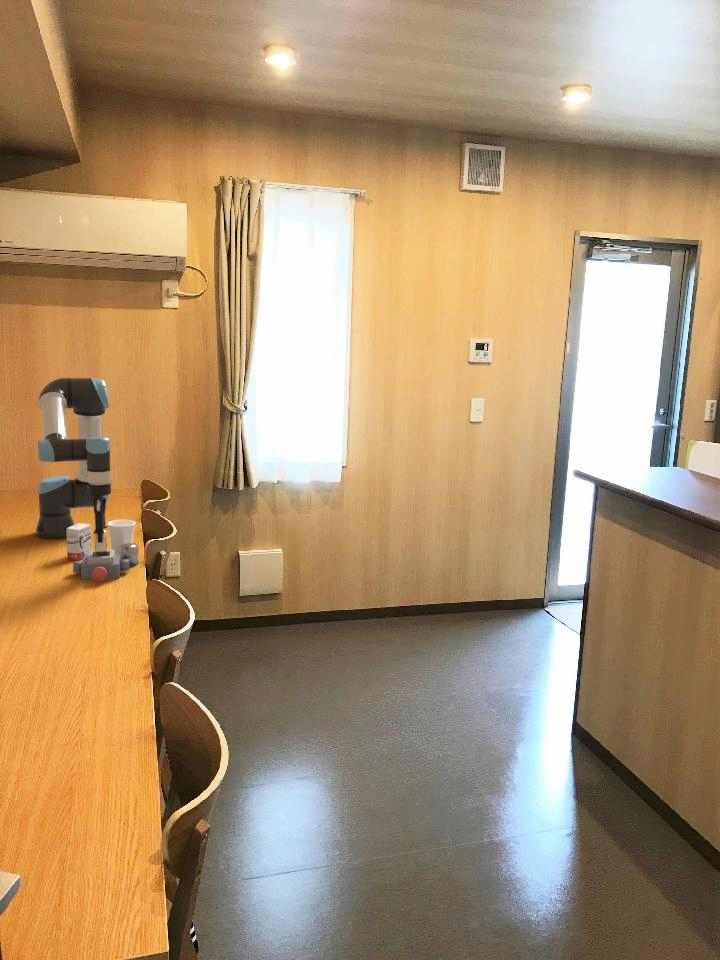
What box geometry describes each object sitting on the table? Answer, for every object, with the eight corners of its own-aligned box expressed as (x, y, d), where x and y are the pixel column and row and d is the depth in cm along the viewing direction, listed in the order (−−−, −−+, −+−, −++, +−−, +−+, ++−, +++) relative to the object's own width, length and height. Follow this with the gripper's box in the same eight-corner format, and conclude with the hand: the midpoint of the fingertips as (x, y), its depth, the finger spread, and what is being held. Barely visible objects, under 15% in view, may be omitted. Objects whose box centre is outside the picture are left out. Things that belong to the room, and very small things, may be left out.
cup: (141, 554, 266) (141, 521, 264) (125, 562, 257) (124, 527, 255) (119, 551, 270) (118, 518, 267) (102, 558, 260) (101, 524, 258)
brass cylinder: (95, 553, 245) (94, 528, 243) (107, 553, 246) (107, 528, 244) (94, 557, 241) (93, 532, 239) (106, 557, 242) (106, 531, 240)
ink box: (79, 561, 257) (77, 529, 254) (66, 559, 257) (65, 528, 255) (92, 554, 265) (91, 523, 262) (80, 552, 266) (79, 522, 263)
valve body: (75, 569, 248) (75, 549, 247) (129, 566, 253) (129, 547, 252) (70, 584, 233) (69, 564, 232) (128, 581, 238) (127, 561, 237)
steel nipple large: (121, 561, 258) (121, 543, 256) (138, 561, 259) (138, 542, 258) (120, 567, 252) (120, 548, 251) (138, 566, 254) (138, 547, 252)
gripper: (89, 477, 245) (91, 542, 250) (84, 488, 229) (87, 557, 234) (112, 477, 247) (114, 541, 252) (109, 487, 231) (111, 556, 236)
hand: (101, 549), depth 243 cm, fingers closed on brass cylinder, 4 cm apart
